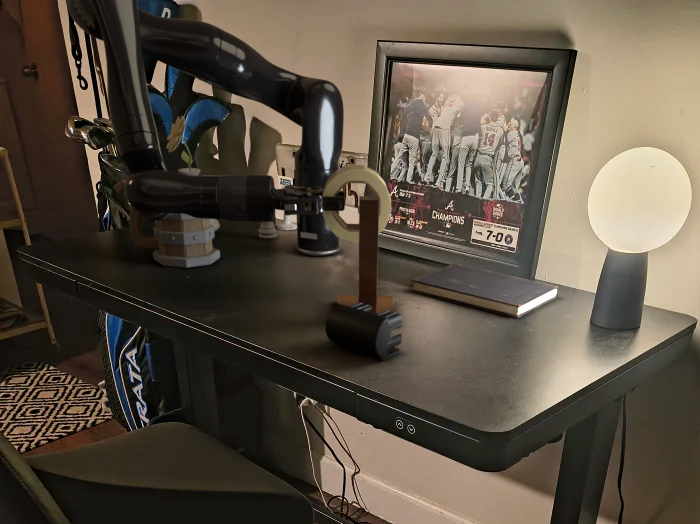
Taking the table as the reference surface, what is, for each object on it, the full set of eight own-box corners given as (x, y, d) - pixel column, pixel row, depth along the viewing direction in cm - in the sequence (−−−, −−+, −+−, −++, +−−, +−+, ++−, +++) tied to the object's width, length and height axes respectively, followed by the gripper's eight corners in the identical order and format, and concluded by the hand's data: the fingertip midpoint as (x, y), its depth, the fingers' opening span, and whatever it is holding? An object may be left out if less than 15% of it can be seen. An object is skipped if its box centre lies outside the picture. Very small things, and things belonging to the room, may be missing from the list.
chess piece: (293, 230, 181) (292, 186, 175) (274, 229, 181) (272, 185, 176) (299, 226, 185) (298, 182, 179) (280, 224, 185) (278, 181, 180)
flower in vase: (174, 227, 180) (160, 110, 166) (222, 227, 181) (212, 111, 167) (167, 241, 169) (151, 117, 155) (218, 241, 170) (207, 118, 156)
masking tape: (322, 235, 136) (321, 163, 129) (388, 237, 137) (390, 165, 130) (322, 241, 132) (321, 168, 126) (389, 243, 133) (392, 170, 126)
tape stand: (337, 299, 137) (336, 182, 126) (391, 300, 138) (395, 184, 127) (337, 325, 125) (337, 199, 114) (396, 326, 126) (401, 200, 115)
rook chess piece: (280, 236, 176) (279, 200, 171) (272, 240, 172) (270, 203, 168) (263, 234, 177) (261, 198, 172) (254, 238, 173) (252, 202, 169)
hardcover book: (517, 318, 131) (519, 305, 130) (410, 291, 142) (411, 279, 141) (557, 297, 142) (559, 285, 141) (455, 274, 153) (456, 262, 152)
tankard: (226, 253, 161) (220, 179, 153) (204, 269, 151) (196, 190, 143) (139, 247, 164) (128, 173, 156) (112, 262, 153) (99, 183, 145)
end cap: (324, 350, 116) (324, 307, 112) (354, 338, 121) (354, 297, 117) (374, 367, 111) (375, 323, 107) (403, 354, 116) (405, 311, 112)
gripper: (240, 182, 122) (345, 185, 123) (249, 168, 134) (344, 170, 135) (243, 230, 126) (345, 232, 127) (251, 212, 138) (344, 214, 139)
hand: (344, 200), depth 131 cm, fingers closed on masking tape, 4 cm apart
